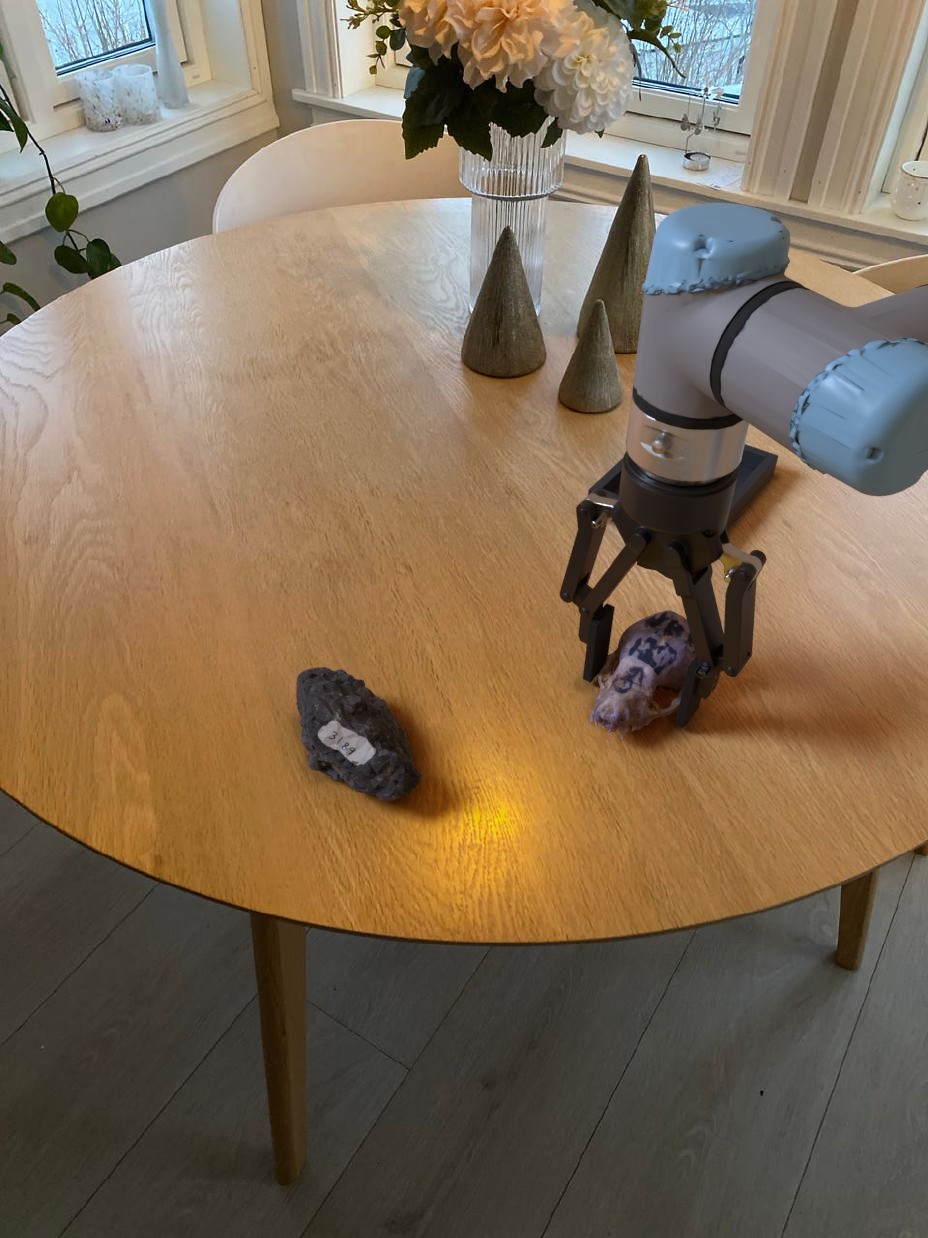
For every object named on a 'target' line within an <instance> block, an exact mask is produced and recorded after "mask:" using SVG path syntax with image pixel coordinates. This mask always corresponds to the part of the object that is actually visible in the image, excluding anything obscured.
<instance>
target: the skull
mask: <svg viewBox="0 0 928 1238" xmlns="http://www.w3.org/2000/svg"><path fill="white" fill-rule="evenodd" d="M695 657H696V653H695V649H694V646H693V642H692V638H691V634H690V630H689V626H688V622H687V618H686V617H684V616H683V615H681V614H679V613H677V612H675V611H673V610H671V609H670V610H669V609H667V610H663V611H658V612H655V613H653V614H651V615H648V616H646V617H643V618H641V619H639V620H638V621H636V622H634V623H632V624H631V625H629V626H628V627H627V628H626V629H624V631H623V632H622V634H621V636H620V638H619V640H618V644H617V647H616V648H615V650H614V651H613V652H612V653H610V654H608V655H607V657H606V658H607V660H606V663H605V665H604V666H603V668H602V669H601V670H600V672H599V674H598V675H597V681H598V686H599V690H597V695H596V697H595V701H594V703H595V705H594V706H593V709H592V711H591V713H590V716H589V721H590V723H594V724H595V726H596V727H598V726H599V725H600V726H601V727H602V728H605V729H608V731H607V733H614V734H615V733H616V732H617V731H618V730H620V731H621V732H620V740H623V739H624V738H625V736H626V734H627V732H628V731H629V729H630V727H631V726H632V727H631V732H634V731H636V730H641V729H642V728H643V727H644V726H648V725H650V724H649V723H650V722H651V721H653V720H654V719H657V718H661V717H666V716H668V715H670V714H672V713H674V712H675V711H676V710H677V709H679V704H680V700H681V695H682V691H683V686H684V682H685V677H686V673H687V668H688V666H689V665H690V663H691V662H692V661H693V660H694V658H695ZM660 688H661V689H662V690H665V691H667V692H672V693H674V694H676V695H677V696H675V697H673V698H672V700H671V703H670V705H668V706H667V707H665V708H662V707H660V706H659V703H658V702H656V699H655V696H654V695H655V693H656V691H657V690H659V689H660ZM598 724H599V725H598Z"/></svg>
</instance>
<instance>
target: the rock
mask: <svg viewBox="0 0 928 1238" xmlns="http://www.w3.org/2000/svg"><path fill="white" fill-rule="evenodd" d="M295 683H296V685H295V686H296V693H295V698H296V709H297V711H298V713H299V716H300V721H299V725H300V727H301V733H300V737H301V738H300V741H301V744H302V746H303V747H304V748H305V750H306V751H307V752H308V753H309V754H308V761H307V762H306V764H307V766H308V767H309V769H310V770H313V771H318V772H320V773H322V774H324V775H326V776H328V777H330V778H332V779H333V780H334V781H336V782H342V783H345V784H346V786H348V787H349V788H351V789H352V790H353V791H355V792H356V793H366V794H369V795H374V796H375V797H377V798H378V799H379V800H380V801H397V800H399V799H400V798H401V797H403V798H407V797H409V796H410V795H411V792H412V791H413V790H414V789H416V788H417V787H418V786H419V785H420V781H421V780H422V778H423V777H424V775H423V774H422V773H421V771H420V770H419V769H418V768H417V766H416V765H415V762H414V760H413V759H412V758H413V754H412V750H411V748H410V746H409V742H408V738H407V732H406V731H405V730H404V728H403V727H404V726H403V725H401V724H400V723H399V721H398V717H397V716H396V715H395V714H394V713H393V712H392V711H391V710H390V707H389V705H388V704H387V702H386V700H385V699H383V698H381V697H380V696H377V695H376V694H375V693H374V692H373V691H372V690H371V689H370V688H369V687H367V686H366V682H365V680H364V679H361V678H359V679H358V678H355V675H352V674H350V673H347V671H346V670H345V669H343V668H339V669H336V670H332V669H330V668H329V667H326V666H325V667H312V668H307V669H305V670H302V671H301V672H300V673H299V674H298V675H297V677H296V682H295Z"/></svg>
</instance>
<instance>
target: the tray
mask: <svg viewBox="0 0 928 1238" xmlns="http://www.w3.org/2000/svg"><path fill="white" fill-rule="evenodd" d="M623 458H624V456H623V457H622V458H621V459H620V460H619V461H617V463H616V464H615V465H613V466H612V467H611V468H609V470H608V471H606V473H605V474H604V475H603V476H601V477H600V478H599V480H597V481H596V482H595V483H594V484H593V485H592V486H591V487H590V488H589V489H588V491H587V496H588V495H589V494H590V493H591V492H593V491H594V490H595V489H602V490H603V491H604V492H605V493H606V495H607V498H610V499H615V500H619V488H620V481H621V473H622V465H623ZM778 460H779V455H778V454H775V453H773V452H769V451H766V450H763V449H761V448H758V447H755V446H752V445H749V444H747V443H745V445H744V450H743V455H742V459H741V462H740V464H739V465H738V476H737V480H736V485H735V489H734V494H733V498H732V503H731V507H730V512H729V516H728V519H727V523H726V528H727V530H729V528H730V527H732V525H733V524H734V522H735V521H736V520H737V519H738V518H739V517H740V515H741V514H742V513H743V512H744V511H745V509H746V508H747V507H748V506H749V505H750V504H751V503H752V502H753V500H754V499H755V498H756V497H757V496H758V495H759V493H760V492H761V491H762V489H764V487H765V486H766V485H767V484H768V483H769V482H770V480H771V479H772V478H773V477H774V475H775V471H776V467H777V464H778ZM610 522H614V521H613V519H612V520H611V521H610Z"/></svg>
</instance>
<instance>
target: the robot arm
mask: <svg viewBox="0 0 928 1238" xmlns="http://www.w3.org/2000/svg"><path fill="white" fill-rule="evenodd" d="M790 245H791V234H790V230H789V229H788V227H787V226H786V225H785V224H784V223H782V220H781V219H780V218H779V217H778V216H777V215H775V214H773V213H771V212H769V211H766V210H765V209H762V208H758V207H756V206H755V207H754V206H751V205H747V204H741V203H731V202H705V203H703V202H702V203H698V204H693V205H689V206H685V207H681V208H679V209H676V210H675V211H672V212H671V213H670V214H668V215H667V216H666V217H665V218H663V219H662V221H661V222H660V223H659V224H658V226H657V227H656V230H655V233H654V237H653V241H652V247H651V251H650V256H649V261H648V264H647V265H648V267H647V271H646V276H645V281H644V282H643V283H642V287H641V289H642V290H641V292H642V293H643V298H642V300H643V301H642V306H641V307H642V308H641V316H640V325H639V333H638V342H637V348H636V349H637V351H636V358H635V367H634V376H633V383H632V393H631V399H630V408H629V414H628V422H627V429H626V437H625V449H626V451H625V452H624V455H623V457H624V458H623V457H622V458H623V465H622V473H621V481H620V488H619V500H615V499H610V498H607V495H606V493H605V492H604V491H603V490H602V489H595V490H594V491H593V492H591V493H590V494H589V495H588V494H587V496H586V497H585V498H583V500H581V501H580V502H579V503H578V504H577V506H576V507H575V513H576V514H575V515H576V523H577V531H576V536H575V539H574V542H573V544H572V548H571V551H570V552H571V553H570V555H569V559H568V562H567V566H566V569H565V573H564V575H563V579H562V582H561V586H560V590H559V598H560V600H561V601H562V602H563V603H566V604H570V603H572V604H574V605H575V606H576V607H577V608H578V613H579V625H578V634H577V635H578V639H579V641H580V642H582V643H584V644H586V646H585V647H586V649H585V656H584V665H583V673H582V680H584V681H585V682H589V683H592V682H593V680H595V679H596V677H598V674H599V672H600V670H601V669H602V668H603V666H604V665H605V663H606V660H607V658H606V657H607V655H609V651H610V644H611V637H612V629H613V624H614V623H613V622H614V616H615V609H616V608H615V606H614V605H611V604H610V603H607V602H606V601H607V600H608V599H609V597H611V595H612V594H613V592H614V591H615V590H616V589H617V587H618V586H619V585H620V583H621V582H622V581H623V580H624V579H625V577H626V576H627V575H628V574H629V572H630V571H631V570H632V568H633V567H634V566H635V565H637V566H639V567H641V568H643V569H645V570H649V571H655V572H657V573H659V574H661V575H662V577H664V578H667V579H669V580H672V583H673V584H672V585H673V587H674V591H675V594H676V596H677V597H680V599H681V603H682V606H683V610H684V614H685V618H686V619H687V622H688V626H689V630H690V634H691V638H692V642H693V646H694V649H695V653H696V657H695V658H694V660H693V661H692V662H691V663H690V665H689V666H688V668H687V673H686V677H685V682H684V686H683V691H682V695H681V700H680V704H679V707H678V708H677V709H678V710H677V713H676V719H675V723H674V725H675V726H677V727H680V728H681V729H683V730H684V729H685V727H687V725H688V724H689V722H690V721H691V720H692V718H693V717H694V715H695V714H696V713H697V712H698V710H699V709H700V705H701V702H702V699H703V700H705V701H706V700H707V699H708V698H709V697H711V695H712V694H713V692H714V691H715V689H716V688H717V687H718V685H719V681H720V680H719V679H720V676H721V672H723V673H724V674H725V675H726V676H727V677H729V678H736V677H738V676H739V674H740V673H741V671H742V670H744V667H745V666H746V665H747V663H748V662H749V660H750V659H751V658H752V656H753V646H754V645H753V644H754V630H755V615H756V614H755V612H756V595H757V579H758V577H759V576H760V573H761V572H762V569H763V568H764V566H765V564H766V562H767V556H766V555H767V554H765V553H764V551H762V550H759V549H754V550H751V551H750V552H749V553H747V552H746V551H744V550H743V549H740V548H738V547H737V546H735V545H734V544H732V543H730V542H731V541H730V535H729V532H728V529H727V528H726V523H727V519H728V516H729V512H730V507H731V503H732V498H733V494H734V489H735V485H736V480H737V476H738V465H739V464H740V462H741V459H742V455H743V450H744V445H745V444H746V441H747V436H748V431H749V426H750V425H751V426H752V427H754V428H755V429H757V430H759V431H760V432H761V433H763V434H764V435H766V436H767V437H769V438H770V439H772V440H773V441H775V442H776V443H778V444H779V445H780V446H782V447H784V449H786V450H788V451H789V452H790V453H792V454H793V455H795V456H796V457H798V458H799V460H800V461H801V462H802V463H803V464H806V465H807V467H809V468H810V469H811V470H813V471H817V472H819V473H820V474H821V475H826V474H827V475H828V476H830V477H832V478H834V479H836V480H837V481H839V482H841V483H843V484H844V485H846V486H848V487H850V488H851V489H853V490H855V491H856V492H859V493H861V494H862V495H865V496H870V497H888V496H893V495H896V494H898V493H899V494H900V493H901V492H904V491H906V490H908V489H909V488H911V487H912V486H915V485H916V484H917V483H918V482H920V479H921V478H922V477H923V475H924V474H925V473H926V472H927V471H928V283H926V284H922V285H919V286H916V287H914V288H911V289H908V290H904V291H902V292H901V291H900V292H898V293H895V294H892V295H888V296H886V297H883V298H880V299H876V300H873V301H870V302H867V303H864V304H862V305H859V306H848V305H843V304H842V303H839V302H837V301H835V300H833V299H831V298H829V297H827V296H825V295H823V294H821V293H818V292H817V291H815V290H812V289H810V288H808V287H806V286H805V285H803V284H801V283H800V282H798V281H796V280H794V279H792V278H790V277H789V276H787V275H786V273H785V272H786V271H787V270H788V269H787V268H789V264H790V263H791V259H790V258H789V251H790ZM612 519H613V521H611V520H612ZM610 522H613V523H614V526H615V527H616V529H617V531H618V533H619V535H620V537H621V539H622V541H623V543H624V546H623V548H622V549H621V550H620V551H619V553H618V554H617V556H616V557H615V558H614V559H613V560H612V563H611V564H610V566H609V567H608V568H607V569H606V571H605V572H604V573H603V574H602V576H600V579H598V581H597V582H596V584H595V585H594V586H593V587H591V586H590V585H589V582H590V579H591V575H592V574H593V569H594V567H595V563H596V560H597V557H598V554H599V551H600V548H601V544H602V542H603V538H604V535H605V533H606V530H607V526H608V524H609V523H610ZM718 561H719V562H721V564H722V565H723V567H724V569H723V574H724V577H723V580H724V582H725V583H726V584H728V585H727V587H726V591H725V596H724V598H725V599H724V622H723V624H724V625H723V624H722V620H721V616H720V612H719V607H718V603H717V598H716V594H715V590H714V587H713V582H712V577H713V573H714V572H713V571H714V570H713V565H712V564H714V563H715V562H718ZM605 602H606V603H605ZM604 603H605V604H604Z"/></svg>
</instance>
